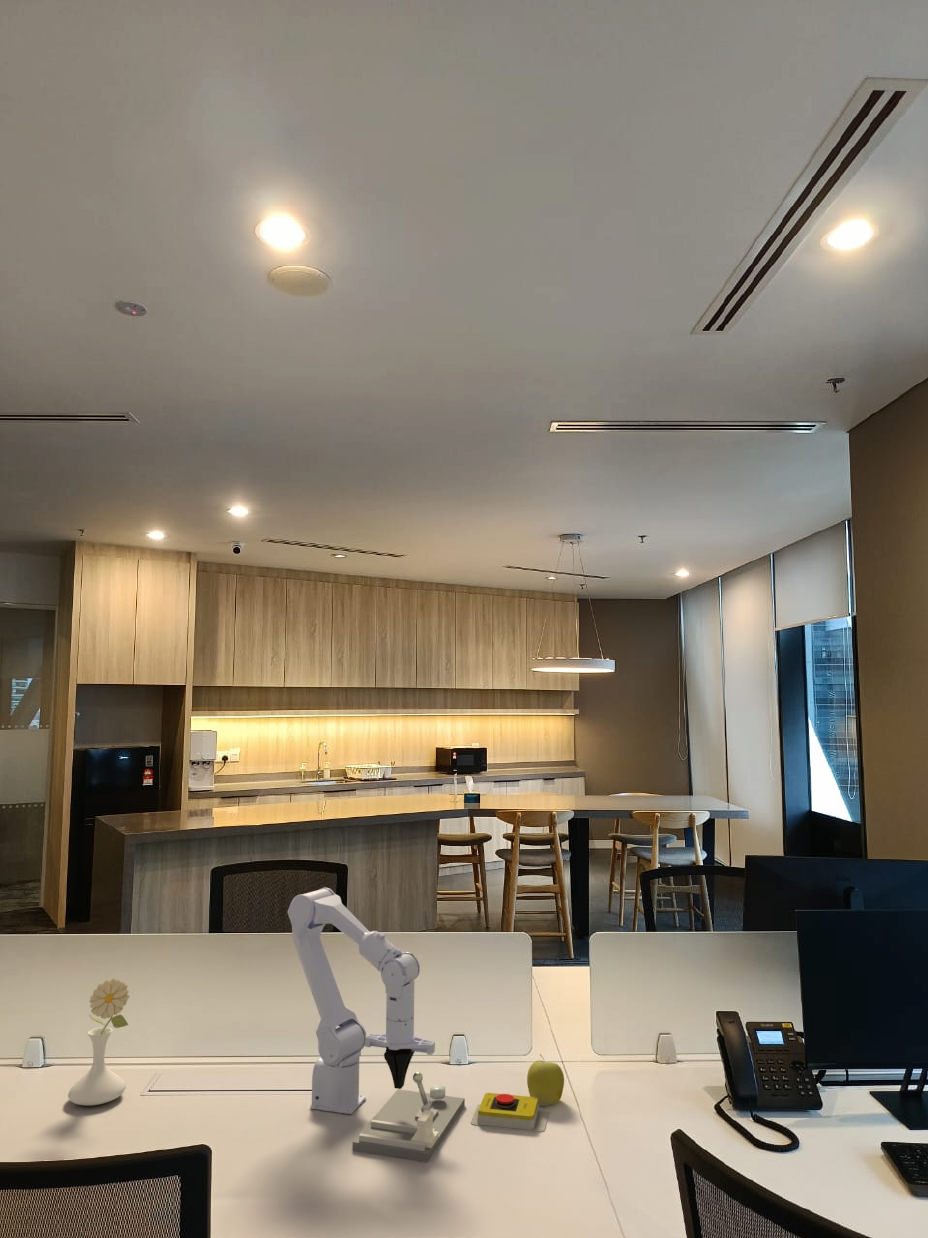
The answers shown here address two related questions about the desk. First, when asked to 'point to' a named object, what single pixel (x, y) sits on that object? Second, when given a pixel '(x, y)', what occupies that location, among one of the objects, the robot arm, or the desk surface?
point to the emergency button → (510, 1113)
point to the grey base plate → (406, 1126)
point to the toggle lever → (422, 1092)
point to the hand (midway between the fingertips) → (399, 1086)
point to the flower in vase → (102, 1047)
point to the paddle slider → (425, 1130)
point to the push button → (437, 1092)
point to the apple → (545, 1082)
